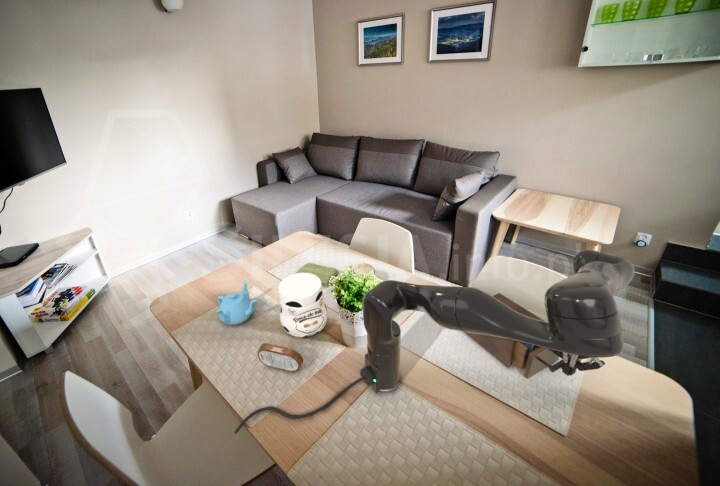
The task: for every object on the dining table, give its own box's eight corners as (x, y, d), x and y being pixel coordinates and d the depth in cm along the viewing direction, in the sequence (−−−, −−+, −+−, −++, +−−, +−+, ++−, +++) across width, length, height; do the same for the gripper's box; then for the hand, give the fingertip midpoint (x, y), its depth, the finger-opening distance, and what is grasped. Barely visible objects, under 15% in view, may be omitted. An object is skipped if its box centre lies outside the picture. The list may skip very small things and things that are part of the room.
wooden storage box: (540, 349, 103) (548, 323, 98) (507, 368, 98) (514, 341, 93) (494, 317, 117) (499, 292, 112) (463, 332, 112) (467, 307, 107)
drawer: (573, 370, 94) (581, 348, 90) (541, 390, 89) (548, 367, 86) (511, 327, 111) (515, 306, 107) (481, 342, 106) (485, 321, 102)
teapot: (216, 310, 133) (211, 289, 128) (253, 299, 137) (248, 278, 133) (220, 334, 120) (214, 312, 116) (260, 320, 125) (256, 299, 120)
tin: (304, 368, 103) (302, 348, 100) (301, 376, 101) (298, 356, 97) (262, 358, 108) (258, 339, 105) (258, 365, 106) (254, 346, 102)
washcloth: (306, 265, 158) (306, 259, 156) (339, 273, 150) (339, 267, 148) (291, 280, 147) (291, 274, 146) (326, 289, 139) (325, 283, 138)
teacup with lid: (369, 296, 133) (369, 272, 128) (349, 290, 138) (348, 266, 133) (381, 280, 142) (381, 257, 137) (362, 275, 147) (361, 252, 142)
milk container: (311, 349, 110) (306, 307, 103) (272, 331, 119) (264, 292, 111) (336, 317, 123) (333, 277, 116) (299, 303, 132) (294, 266, 124)
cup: (523, 359, 97) (528, 341, 94) (505, 346, 102) (509, 328, 99) (536, 352, 99) (541, 334, 96) (518, 339, 104) (522, 321, 101)
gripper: (547, 313, 86) (534, 360, 93) (604, 347, 74) (585, 398, 82) (565, 303, 88) (551, 350, 95) (624, 335, 77) (603, 386, 84)
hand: (567, 372), depth 89 cm, fingers closed
